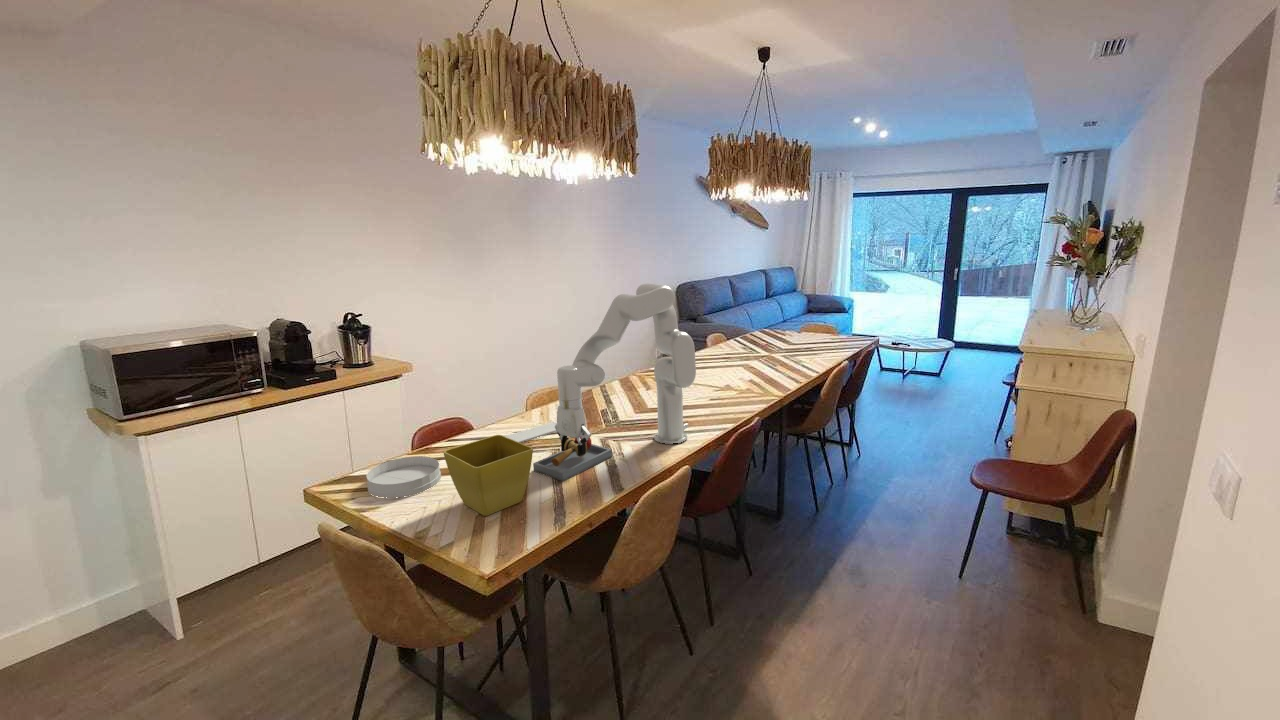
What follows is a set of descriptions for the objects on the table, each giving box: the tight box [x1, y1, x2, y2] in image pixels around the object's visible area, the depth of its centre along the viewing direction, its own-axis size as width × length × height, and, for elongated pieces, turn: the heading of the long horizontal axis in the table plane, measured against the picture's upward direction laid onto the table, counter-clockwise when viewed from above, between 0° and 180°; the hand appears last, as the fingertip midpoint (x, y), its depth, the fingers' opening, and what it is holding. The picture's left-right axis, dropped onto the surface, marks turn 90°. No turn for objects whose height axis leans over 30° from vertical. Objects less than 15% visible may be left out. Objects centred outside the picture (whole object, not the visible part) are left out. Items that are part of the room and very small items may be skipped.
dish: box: [366, 455, 442, 499], centre depth 180 cm, size 22×22×5 cm
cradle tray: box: [532, 443, 613, 482], centre depth 191 cm, size 24×14×3 cm, turn 142°
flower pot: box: [442, 434, 534, 517], centre depth 164 cm, size 19×19×17 cm
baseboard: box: [504, 421, 557, 443], centre depth 221 cm, size 31×3×12 cm
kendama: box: [552, 434, 592, 466], centre depth 190 cm, size 8×6×18 cm
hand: (573, 451), depth 191 cm, fingers closed on kendama, 7 cm apart
